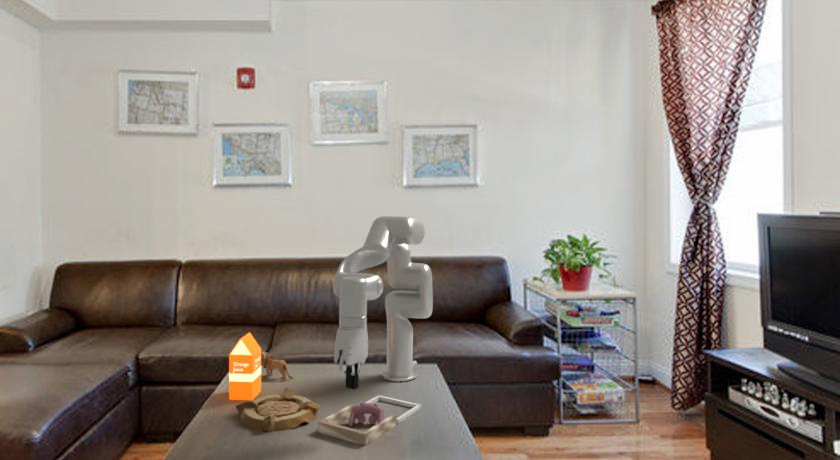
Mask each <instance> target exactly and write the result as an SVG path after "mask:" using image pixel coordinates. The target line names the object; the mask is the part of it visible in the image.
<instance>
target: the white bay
mask: <svg viewBox="0 0 840 460" xmlns="http://www.w3.org/2000/svg"><path fill="white" fill-rule="evenodd" d="M380 401H381V402H384V403H389V404H394V405H397V404H398V405H397V406H403V407H406V406H407V408H410V407H412V408H410V409H409V410H407V411H406V412H404V413H403V414H401V415H400V416H398V417H396V424H401V423H403V422H404V421H405V420H407V419H408V418H409V416H410V415H411V416H413V415H414V414H415V412H416V411H417V412H418V410H419V409H420V408H421V409H422V404H420V403H415V402H410V401H406V400H402V399H396V398H393V397H388V396H384V395H380V394H378V395H377V396H374V397H372V398H371V399H369V400H367V401H365V402H364V403H373V404H376V403H377V402H380ZM421 409H420V410H421ZM420 410H419V411H420ZM417 412H416V413H417ZM413 413H414V414H413ZM412 414H413V415H412ZM411 416H410V417H411ZM407 417H408V418H407ZM406 418H407V419H406ZM403 420H404V421H403ZM400 422H401V423H400Z"/></svg>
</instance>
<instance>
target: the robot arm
mask: <svg viewBox="0 0 840 460" xmlns="http://www.w3.org/2000/svg"><path fill="white" fill-rule="evenodd" d="M425 232H426V229H425V226H424V223H423V222H422V220H420V219H417V218H414V217H409V216H393V215H392V216H390V215H389V216H387V215H386V216H384V215H383V216H379V217H376V218H375V219H374V221H373V222H372V224H371V226H370V228H369V231H368V234H367V236H366V238H365V241H364V243H363V246H361V247H360V248H357V249H356V250H355V251H353V252H351V253H350V254H349V255H347V256H346V257H345V258H344V259H343V260H342V261H341V262H340V264H339V266H338V268H337V270H336V273H335V276H334V279H333V284H332V290H333V293H334V295H335V296H336V297H337V298H339V309H338V310H339V311H338V312H339V313H338V318H339V319H338V320H339V321H338V325H339V326H338V328H337V331H336V336H335V342H334V359H333V360H334V364H335V365H338V371H340V372H344V374H345V388H346V389H350V390H356V389H357V390H358V388H359V382H360V381H359V379H360V378H359V374H360V372H361V367H362V365H363V364H365V362H366V360H367V358H368V355H369V336H368V335H369V333H368V324H367V323H368V318H367V317H368V316H367V315H368V301H375V300H377V299H379V297H380V296H381V295H382V294H383V291H384V282H383V280H382V278H381V276H379V274H378V275H377V274H376V273H375V274H374V273H361V272H360V271H363V270H365V269H366V270H367V269H371V268H374V267H377V266H379V265H383V264H384V263H385V262H387V264H386V265H387V281H388V285H389V286H390V287H391V288H392V289H393V288H394V289H397V290H393V291H390V292H388V293H387V294H386V296H385V299H384V307H385V314H386V369H385V370H384V371H383V372H382V378H383V379H384V380H387V381H389V382H399V383H400V381H401V382H409V380H410V381H413V380H414V378H415V379H416V378H417V377H416V376H417V374H418V373H417V372H416V371H415V370H414V367H416V366H417V365H418V362H417V360H414V358H413V356H414V354H413V353H414V347H413V346H414V345H413V344H414V329H413V326H412V324H411V322H410V321H409V319H410V318H411V319H421V320H422V319H428V318H430V317H431V316H432V314H433V309H434V294H433V273H432V269H431V267H430V266H429V265H428V264H426V263H424V262H422V263H421V262H413V261H412V258H411V248H410V246H409V245H412V246H413V245H415V246H416V245H417V246H418V245H420V244H421V243H422V242H423V241H424V238H425ZM398 289H399V290H398ZM408 290H409V291H408ZM410 290H416V291H410ZM412 379H413V380H412Z"/></svg>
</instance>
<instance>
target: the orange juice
mask: <svg viewBox="0 0 840 460" xmlns="http://www.w3.org/2000/svg"><path fill="white" fill-rule="evenodd" d="M261 352H262V348H261V346H260V345H259V344H258V342H257V340H256V339H255V338H254V336H253V334H252V333H251V332H248V333H246V334H245V335H243V336H242V337H241V338H240V339H239V340H238V342H237V343H236V344H235V346H234V347H233V349H232V350H231V352H230V353H229V355H228V371H229V373H228V383H229V384H228V386H229V387H228V393H229V394H228V397H229V398H228V400H230V401H249V400H252V401H254V400H255V398H257V396H258V395H259V394H260V393H261V392H262V365H261Z"/></svg>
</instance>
